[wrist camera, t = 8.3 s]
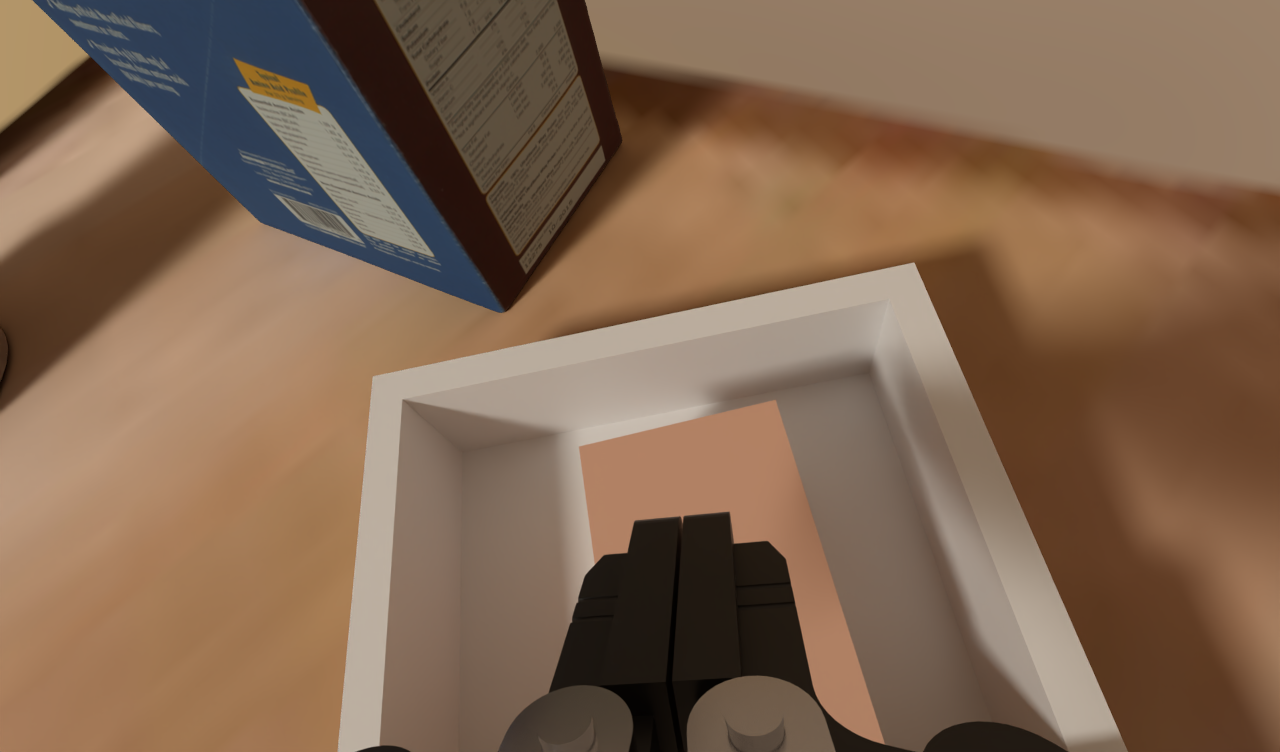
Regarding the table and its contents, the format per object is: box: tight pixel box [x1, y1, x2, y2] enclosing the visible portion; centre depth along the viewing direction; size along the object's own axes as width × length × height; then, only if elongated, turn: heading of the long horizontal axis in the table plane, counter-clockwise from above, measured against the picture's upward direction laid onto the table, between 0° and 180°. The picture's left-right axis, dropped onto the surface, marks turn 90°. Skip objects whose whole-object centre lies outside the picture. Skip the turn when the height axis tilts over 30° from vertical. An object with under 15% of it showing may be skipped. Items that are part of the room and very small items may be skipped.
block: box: [579, 400, 885, 744], centre depth 16 cm, size 5×5×8 cm
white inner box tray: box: [338, 263, 1128, 752], centre depth 18 cm, size 16×12×5 cm
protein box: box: [33, 0, 622, 313], centre depth 24 cm, size 10×15×16 cm
